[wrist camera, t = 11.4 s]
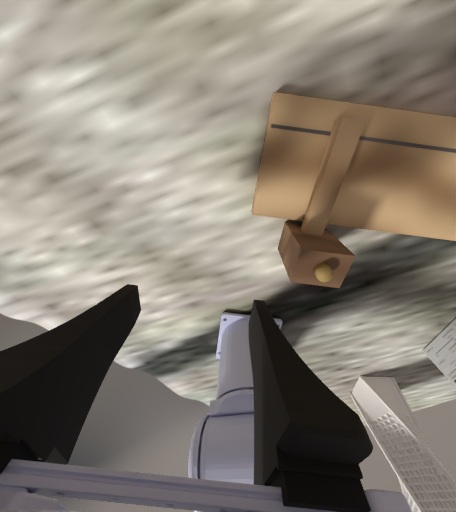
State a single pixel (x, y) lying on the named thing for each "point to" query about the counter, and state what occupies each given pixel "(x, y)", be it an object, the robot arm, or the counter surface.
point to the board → (362, 167)
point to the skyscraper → (404, 445)
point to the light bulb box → (444, 352)
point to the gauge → (322, 217)
